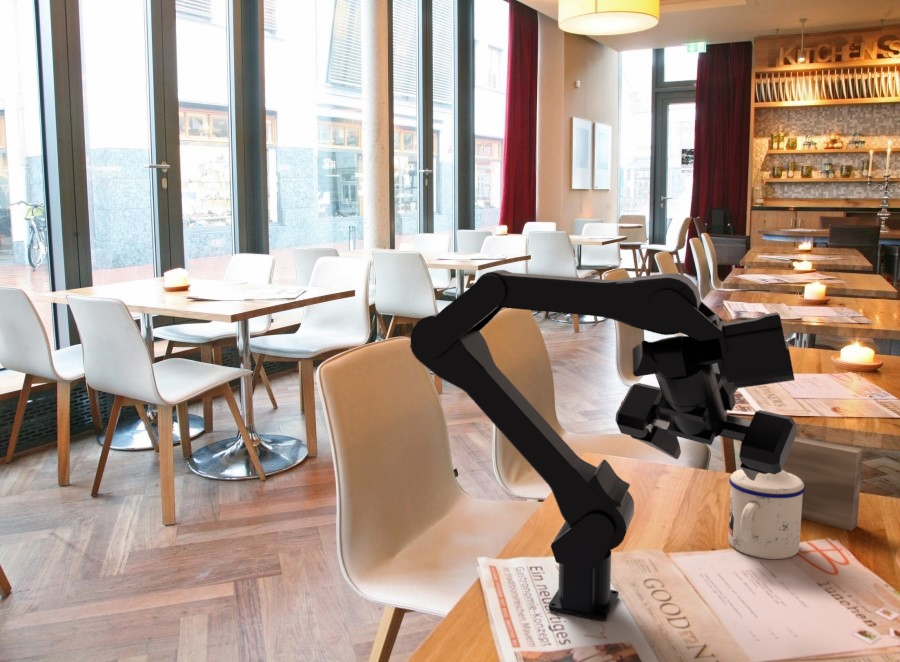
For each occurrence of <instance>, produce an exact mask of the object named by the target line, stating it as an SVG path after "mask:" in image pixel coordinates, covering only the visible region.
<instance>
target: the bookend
mask: <svg viewBox="0 0 900 662" xmlns="http://www.w3.org/2000/svg"><path fill="white" fill-rule="evenodd" d="M863 451H864V449H863V448H859V447H853V446H849V445H848V446H847V445H841V444H838V443H832V442H826V441H821V440H816V439H810V438H806V437H805V438H804V437H801V436H796V437H795V440H794V442H793V444H792V447H791V449H790V452H789V454H788V457H787V459H786V462H785V464H784V466H783V470H784V471H785V472H787V473H790V474H793V475H795V476H797V477H798V478H800V479H801V480H802V482H803V483H804V486H805V491H804V493H803V497H802V513H801V519H803V520H806V521H811V522H814V523H818V524H822V525H827V526H830V527H834V528H837V529H843V530H846V531H850V532H852V531H853V530H854V529H856V528H857V527H858V521H859V520H858V519H859V504H860V495H861V493H860V492H861V491H860V490H861V480H862V479H861V477H862V465H863V453H864V452H863Z"/></svg>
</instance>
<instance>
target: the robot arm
mask: <svg viewBox="0 0 900 662" xmlns="http://www.w3.org/2000/svg"><path fill="white" fill-rule="evenodd" d="M502 309H514V310H524V311H525V310H526V311H535V312H536V311H537V312H548V313H557V314H566V315H567V314H570V315H580V316H591V317H600V318H601V317H603V318H605V319H610V320H614V321H616V322H619V323H621V324H624V325H627V326H629V327H632V328H636V329H639V330H643V331H645V332H646V331H647V332H651V333H655V334H658V335H662V336H663V335H664V336H671V337H666V338H661V339H658V340H655V341H647V340H642V341H641V343H639V344H637V345H635V346H634V347H632V351H631V353H632V359H631V360H632V375H633V376H634V377H643V376H648V375H649V376H651V375H655V378H656V380H657V381H656V382H657V383H658V386H655V385H651V384H646V383H641V382H638V383H634V384H632V385H631V386H630V387H629V389H628V391H627V392H626V395H625V397H624V398H623V400H622V402H621V404H620V405H619V407H618V410H617V411H616V413H615V423H616V425H617V427H618V430H619V431H620V433H621V434H623V435H628V436H630V437H631V438H632V439H633V440H636V441H640V442H642V443H643V444H645V445H647V446H649V447H652V448H654V449H656V450H657V451H660V452H661V453H663V454H665V455H667V456H669V457H670V458H672V459H675V460H679V458H680V456H681V454H682V452H681V451H682V450H681V445H680V442H679V439H678V438H682V439H685V440H689V441H694V442H696V443H701V444H704V445H708V446H712V445H713V442H714V440H715V438H717V437H718V436H719V437H723V438H725V439H726V438H727V439H731V440H736V441H739V442H741V444H740V448H739V449H740V450H739V454H738V455H739V457H738V458H739V460H740V462H741V463H740V466H739V467H740V469H742V470H743V471H744V473H745V474H746V476H747V477H748V478H749V479H750V480H753V481H754V480H755V478H756V476H757V474H758V473H761V474H768V473H770V474H777V473H779V472H781V471H782V469H783V466H784V464H785V462H786V459H787V457H788V454H789V452H790V449H791V447H792V444H793V442H794V440H795V437H797V435H798V430H797V424H796V422H795V420H794V419H793V417H792V416H788V415H784V414H779V413H775V412H770V411H766V410H761V409H759V410H755V412H754V415H753V417H752V418H751V420H750V419H745V418H741V417H739V416H738V417H737V416H733V415H729V414H727V413H728V411H730V412H732V411H733V409H734V408H735V406H736V403H737V402H736V398H735V397H736V396H735V393H736V392H737V390H738V389H742V388H748V387H749V388H750V387H757V386H763V385H764V386H765V385H771V384H777V383H785V382H792V381H795V376H794V369H793V364H792V359H791V358H792V357H791V353H790V348H789V344H788V340H786V339H785V334H784V329H783V325H782V319H781V315H780V313H779V312H778V311H776V312H771V313H765V314H762V315H760V316H758V317H754V318H747V319H743V320H738V321H731V322H726V321H725V320H723V318H721V316H719V313H716V312H715V311H714V310H712V308H709V306H707V305H706V304H705V303H704V302H703V301H702V298H701V293H700V291H699V288H698V286H697V285H696V284H695V283H694V282H693V280H692V279H691V278H690V277H688V276H686V275H684V274H680V273H677V272H676V273H674V272H673V273H672V272H671V273H661V274H653V275H652V274H651V275H643V276H642V275H641V276H635V277H634V276H632V277H627V278H626V277H625V278H619V279H601V278H600V279H599V278H587V277H575V276H574V277H573V276H561V275H547V274H535V273H534V274H533V273H519V272H511V271H508V270H505V269H498V270H497V269H496V270H493V271H488V272H485V273H483V274H481V275H480V276H479V277H478V278H477V280H476V281H475V283H473V284H472V285H471V286H469V288H467V290H465V291H464V292H463V293H462V294H460V295H459V296H458V297H457V298H455V299H454V300H453V301H451V302H450V303H449V304H448V305H446V306H445V307H444V308H443V309H442V310H441V311H440V312H438V313H435V314H431V315H428V316H425V317H422V318H421V319H419V321H417V322H416V323H415V325H414V326H413V328H412V330H411V334H410V345H409V347H410V350H411V353H412V355H413V356H414V357H415V359H416V360H417V361H418V362H419V363H420V364H421V365H423V366H424V367H425V368H427V369H428V370H429V371H430V372H432V374H434V375H435V376H436V377H438V378H439V379H441V380H443V381H445V382H447V383H449V384H451V385H453V386H454V387H456V388H459V389H461V391H463V392H464V393H466V394H467V396H468V397H469V398H471V400H472V401H473V402H474V404H475V405H476V406H477V407H478V408H479V409H480V410H481V411H482V412H483V413H484V414H485V416H486V417H487V418H488V419H489V420H490V421H491V423H492V424H493V425H494V426H495V427H496V428H497V430H499V431H500V432H501V434H502V435H503V436H504V437H505V438H506V440H508V441H509V443H510V444H511V445H512V446H513V447H514V448H515V449H516V450H517V452H519V454H520V455H521V456H522V457H523V459H525V461H526V462H527V463H528V464H529V465H530V466H531V467H532V468H533V470H534V471H535V472H536V473H537V474H538V475H539V476H540V477H541V478H542V480H543V481H544V482H545V483H546V484H547V485H548V487H549V488H550V490H551V492H552V495H553V497H554V500H555V502H556V504H557V507H558V510H559V512H560V514H561V517H562V518H563V520H564V523H563V524H562V526H561V527H560V529H559V531H558V533H557V534H556V536H555V537H554V539H553V541H552V542H551V545H550V549H551V551H552V555H553V557H554V561H555V562H556V564H558V589H557V590H556V592H555V594H554V595H553V597H552V598H551V599H550V601H549V603H548V609H549V610H550V611H553V612H559V613H563V614H569V615H573V616H577V617H578V616H579V617H583V618H588V619H594V620H599V621H607V620H608V618H609V616H610V615H611V613H612V611H613V609H614V607H615V604H616V602H617V601H618V599H619V596H620V595H619V591H617V590H615V589H611V585H612V582H611V580H612V578H611V577H612V576H611V574H612V573H611V572H612V550H614V549H616V548H618V547H619V546H620V545H621V544H622V543H623V541H624V540H625V537H626V535H627V532H628V530H629V527H630V524H631V521H632V520H633V517H634V515H635V501H634V499H633V495H632V494H631V493H630V491H629V490H630V486H631V484H630V483H629V482H627V481H624V480H623V479H622V478H621V477H619V476H618V474H617V473H616V472H615V470H614V469H613V467H612V466H611V464H610V463H609V462H608V461H607V460H606V459H602V460H601V462H600V463H599V464H598V465H597V466H595V465H593V464H591V463H589V462H587V461H585V460H583V458H581V457H579V455H577V453H576V452H575V451H574V450H573V449H572V448H571V447H570V446H569V445H568V444H567V442H566V441H565V440H564V439H563V438H562V437H561V435H560V434H558V432H556V430H555V429H554V428H553V427H552V426H551V425H550V423H548V421H547V420H546V419H545V418H544V417H543V416H542V415H541V413H540V412H539V411H537V409H536V408H535V407H534V406H533V405H532V404H531V403H530V401H528V400H527V399H526V397H525V396H524V395H523V394H522V393H521V392H520V390H519V389H518V388H517V387H516V386H515V385H514V384H513V383H512V382H511V381H510V380H509V378H508V377H507V376H506V375H505V374H504V373H503V372H502V371H501V369H500V368H499V367H498V366H497V364H496V363H495V360H494V359H493V356H492V353H491V350H490V348H489V346H488V343H487V341H486V339H485V338H484V336H483V335H482V333H481V332H480V331H482V330H483V329H484V328H485V327H486V326H487V325H488V324H489V323H490V322H491V321H492V320H493V319H494V318H495V317H496V316H497V315H498V314H499V312H501V310H502ZM676 334H677V335H676ZM678 334H682V335H678ZM674 335H676V336H674Z"/></svg>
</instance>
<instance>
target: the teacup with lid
mask: <svg viewBox="0 0 900 662" xmlns="http://www.w3.org/2000/svg"><path fill="white" fill-rule="evenodd" d="M728 481H729V484H730V498H729V499H730V500H729V520H728V537H727V538H728V543H729V544H730V545H731V547H733V548H734V550H736V551H738V552H740V553H742V554H745V555H748V556H751V557H755V558H760V559H765V560H766V559H768V560H782V559H784V560H785V559H788V558H791V557H794V556H796V555H797V553H798V552H799V551H800V546H801V545H800V543H801V542H800V540H801V527H802V525H801V524H802V518H801V513H802V497H803V493H804V491H805V486H804V483H803V482H802V480H801V479H800V478H798V477H797V476H795V475H793V474H790V473H787V472H785V471H784V470H783V469H782V471H781V472H779V473H777V474H770V473H768V474H761V473H758V474H757V476H756V478H755V480H754V481H753V480H750V479H749V478H748V477H747V476H746V474H745V473H744V471H743V470H742V469H741V468H740V469H738V470H735V471H734V472H732V473H731V475H730V477H729V480H728Z"/></svg>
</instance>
